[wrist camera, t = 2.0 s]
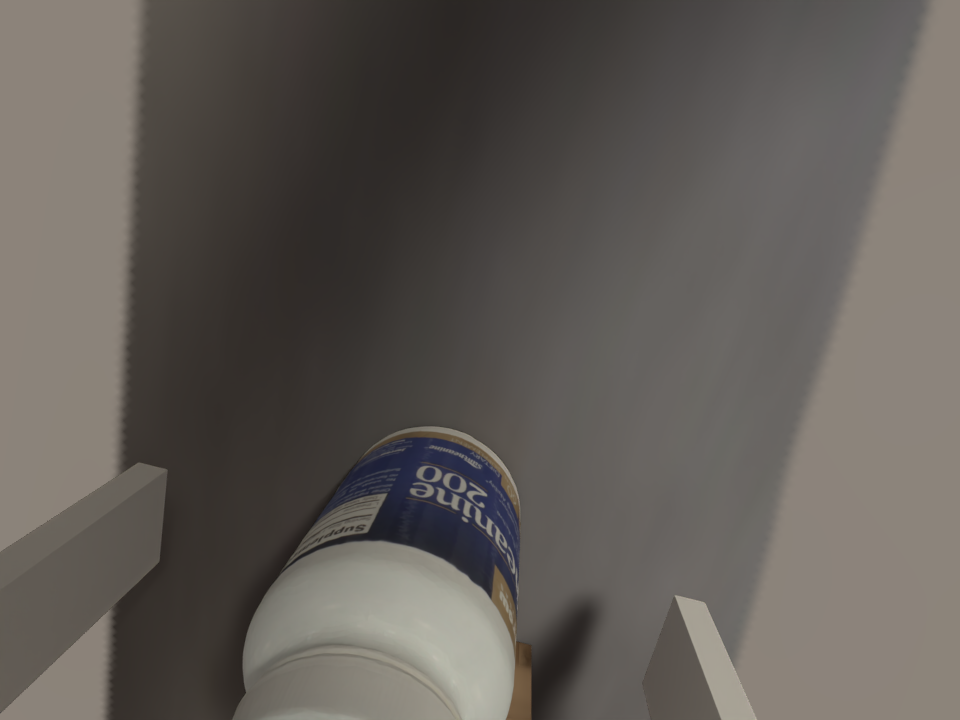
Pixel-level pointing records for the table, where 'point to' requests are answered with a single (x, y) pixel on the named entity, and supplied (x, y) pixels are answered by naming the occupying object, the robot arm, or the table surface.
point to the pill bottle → (396, 593)
